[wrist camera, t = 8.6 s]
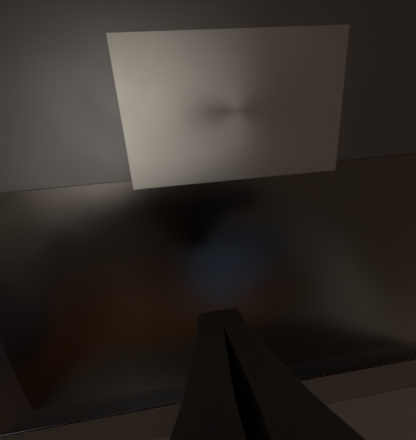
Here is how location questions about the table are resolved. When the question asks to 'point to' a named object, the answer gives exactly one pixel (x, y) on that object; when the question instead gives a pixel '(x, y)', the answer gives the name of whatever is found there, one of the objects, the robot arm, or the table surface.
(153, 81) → the laptop
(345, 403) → the laptop screen
